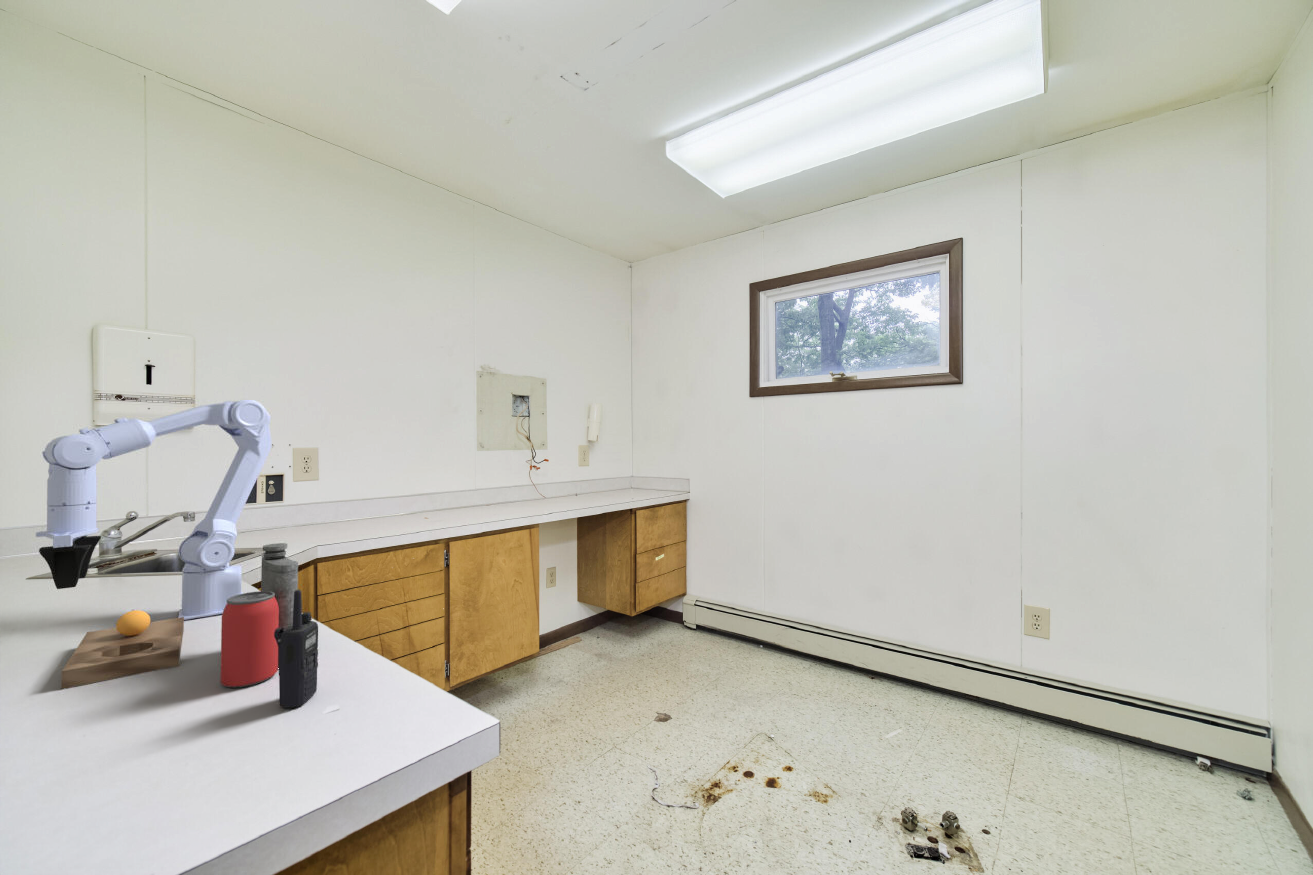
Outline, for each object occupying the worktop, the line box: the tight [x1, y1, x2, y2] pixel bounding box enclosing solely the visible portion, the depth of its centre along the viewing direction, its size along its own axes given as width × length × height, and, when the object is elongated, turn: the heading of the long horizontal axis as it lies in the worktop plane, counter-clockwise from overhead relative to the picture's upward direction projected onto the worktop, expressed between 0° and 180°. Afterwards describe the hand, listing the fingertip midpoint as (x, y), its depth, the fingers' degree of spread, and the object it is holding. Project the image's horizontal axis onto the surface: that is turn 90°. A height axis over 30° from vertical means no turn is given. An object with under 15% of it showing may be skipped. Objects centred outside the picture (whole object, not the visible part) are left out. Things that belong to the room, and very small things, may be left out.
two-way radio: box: [274, 589, 319, 709], centre depth 69 cm, size 6×4×15 cm
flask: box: [260, 542, 299, 668], centre depth 84 cm, size 4×14×18 cm, turn 45°
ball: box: [115, 609, 151, 636], centre depth 86 cm, size 4×4×4 cm
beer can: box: [220, 590, 279, 689], centre depth 75 cm, size 7×7×12 cm
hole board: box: [60, 617, 185, 690], centre depth 83 cm, size 12×20×2 cm, turn 41°
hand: (71, 583), depth 89 cm, fingers open, 7 cm apart
